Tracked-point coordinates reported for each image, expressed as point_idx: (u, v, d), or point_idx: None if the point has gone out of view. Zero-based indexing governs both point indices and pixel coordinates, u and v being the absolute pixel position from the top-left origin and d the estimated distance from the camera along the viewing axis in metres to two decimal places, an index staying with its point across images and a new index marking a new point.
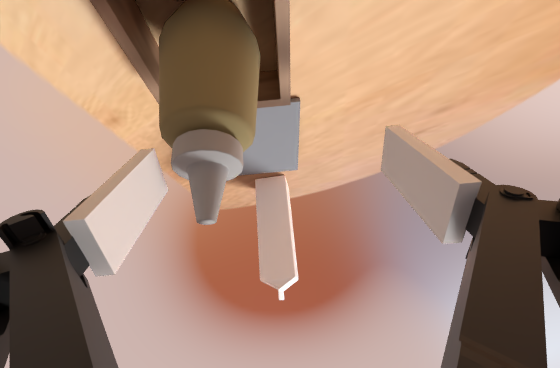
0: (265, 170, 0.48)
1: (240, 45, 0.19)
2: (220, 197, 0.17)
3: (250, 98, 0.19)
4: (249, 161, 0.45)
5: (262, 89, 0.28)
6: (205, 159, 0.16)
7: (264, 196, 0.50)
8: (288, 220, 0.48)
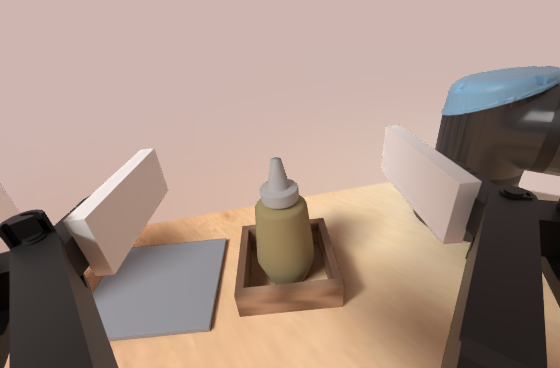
0: (95, 300, 0.37)
1: (305, 252, 0.34)
2: (278, 174, 0.30)
3: (293, 233, 0.32)
4: (129, 283, 0.39)
5: (246, 284, 0.35)
6: (290, 186, 0.32)
7: None
8: None
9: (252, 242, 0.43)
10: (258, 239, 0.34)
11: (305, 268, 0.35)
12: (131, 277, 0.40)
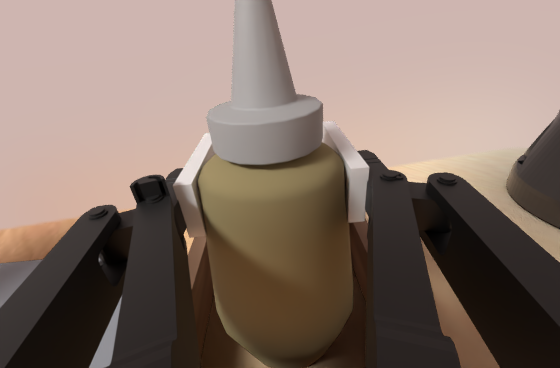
0: None
1: (338, 294, 0.12)
2: (262, 45, 0.09)
3: (308, 244, 0.10)
4: None
5: None
6: (301, 100, 0.10)
7: None
8: None
9: None
10: (211, 258, 0.13)
11: (335, 335, 0.13)
12: None
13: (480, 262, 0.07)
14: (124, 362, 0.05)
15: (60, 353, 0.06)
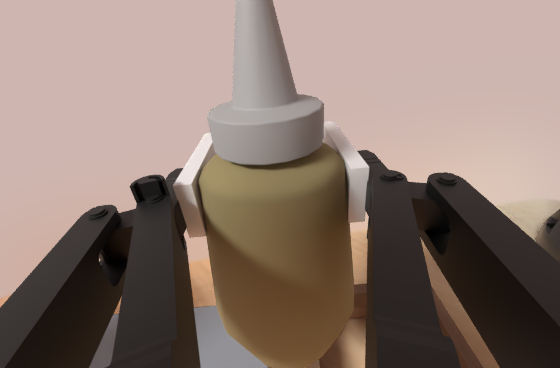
0: None
1: (339, 294, 0.12)
2: (263, 44, 0.09)
3: (309, 244, 0.10)
4: None
5: None
6: (302, 100, 0.10)
7: None
8: None
9: None
10: (211, 258, 0.13)
11: (336, 335, 0.13)
12: None
13: (480, 262, 0.07)
14: (124, 362, 0.05)
15: (60, 353, 0.06)
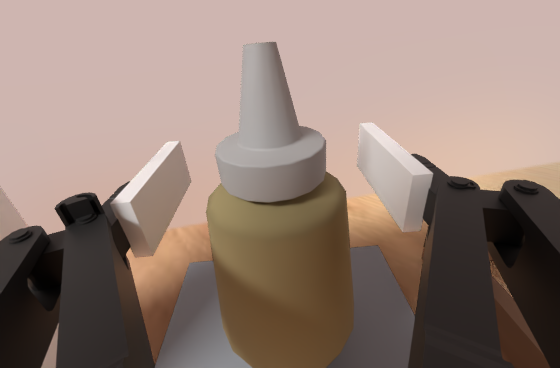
0: None
1: (340, 317, 0.13)
2: (269, 91, 0.09)
3: (312, 274, 0.11)
4: None
5: None
6: (305, 137, 0.11)
7: None
8: None
9: None
10: (218, 281, 0.13)
11: (337, 353, 0.14)
12: None
13: (555, 278, 0.06)
14: None
15: None
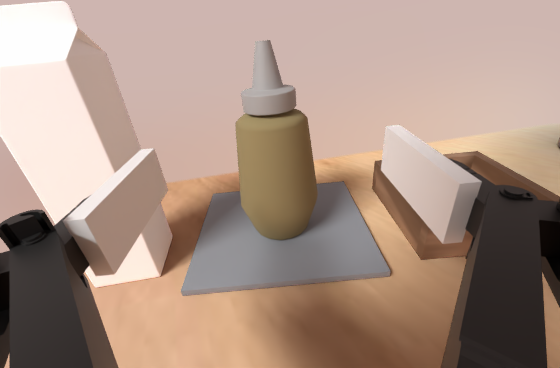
0: (206, 243, 0.28)
1: (305, 186, 0.24)
2: (267, 62, 0.21)
3: (288, 152, 0.22)
4: (244, 226, 0.30)
5: None
6: (285, 87, 0.22)
7: (158, 217, 0.27)
8: None
9: None
10: (240, 169, 0.25)
11: (305, 210, 0.25)
12: (242, 220, 0.31)
13: None
14: None
15: None
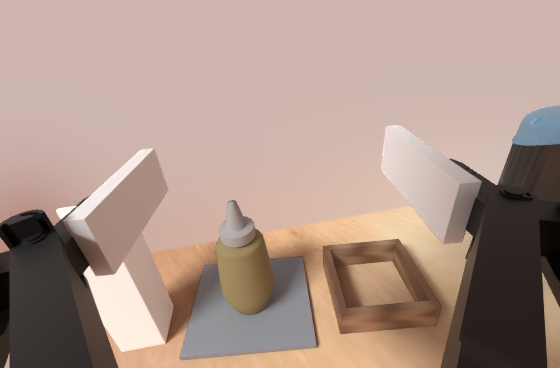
0: (197, 316, 0.40)
1: (263, 285, 0.36)
2: (234, 216, 0.33)
3: (249, 269, 0.34)
4: (224, 300, 0.42)
5: None
6: (247, 225, 0.34)
7: (164, 299, 0.39)
8: (144, 299, 0.33)
9: None
10: (219, 272, 0.37)
11: (263, 299, 0.37)
12: None
13: None
14: None
15: None
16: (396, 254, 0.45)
